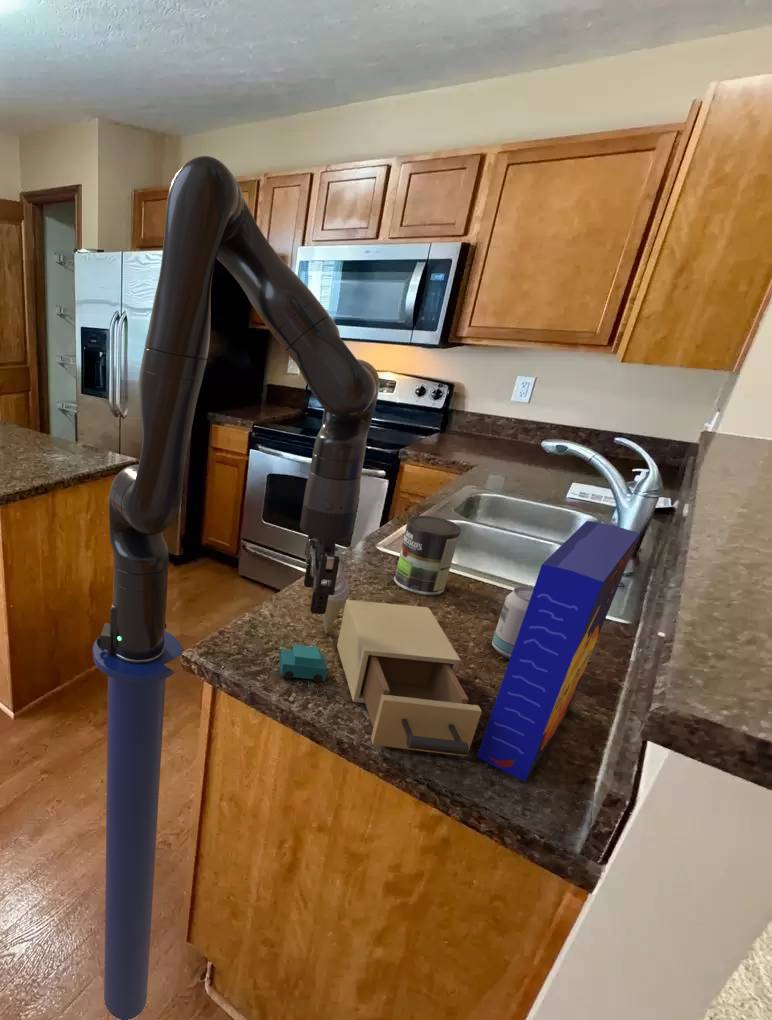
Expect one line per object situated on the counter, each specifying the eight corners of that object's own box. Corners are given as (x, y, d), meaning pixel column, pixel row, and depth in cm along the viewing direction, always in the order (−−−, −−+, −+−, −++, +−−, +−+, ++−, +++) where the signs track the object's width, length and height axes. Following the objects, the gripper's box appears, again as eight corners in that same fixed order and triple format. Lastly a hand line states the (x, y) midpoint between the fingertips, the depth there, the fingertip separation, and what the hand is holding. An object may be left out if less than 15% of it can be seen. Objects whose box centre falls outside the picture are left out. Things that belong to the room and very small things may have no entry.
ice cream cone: (346, 635, 110) (361, 562, 104) (328, 643, 108) (342, 569, 102) (324, 622, 114) (337, 551, 108) (306, 630, 111) (319, 558, 105)
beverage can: (530, 670, 102) (552, 608, 97) (485, 653, 106) (504, 594, 101) (538, 653, 106) (560, 594, 101) (495, 638, 110) (514, 580, 106)
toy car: (324, 683, 97) (328, 661, 95) (280, 678, 98) (284, 656, 96) (321, 667, 101) (325, 646, 99) (278, 662, 102) (282, 641, 100)
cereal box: (525, 782, 78) (603, 579, 66) (476, 757, 82) (542, 562, 70) (568, 709, 92) (640, 531, 80) (525, 691, 96) (587, 518, 84)
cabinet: (445, 712, 91) (461, 660, 87) (353, 701, 93) (364, 650, 89) (416, 654, 105) (429, 607, 101) (336, 646, 107) (346, 599, 103)
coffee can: (409, 596, 125) (424, 534, 119) (384, 574, 134) (397, 515, 128) (455, 594, 126) (472, 533, 120) (427, 572, 135) (442, 514, 129)
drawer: (481, 784, 77) (497, 737, 74) (380, 771, 78) (392, 725, 75) (434, 690, 94) (446, 649, 91) (353, 681, 96) (361, 640, 93)
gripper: (366, 522, 80) (346, 625, 87) (348, 488, 93) (331, 580, 100) (309, 517, 81) (293, 620, 88) (298, 485, 94) (285, 576, 101)
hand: (313, 599), depth 94 cm, fingers open, 8 cm apart
